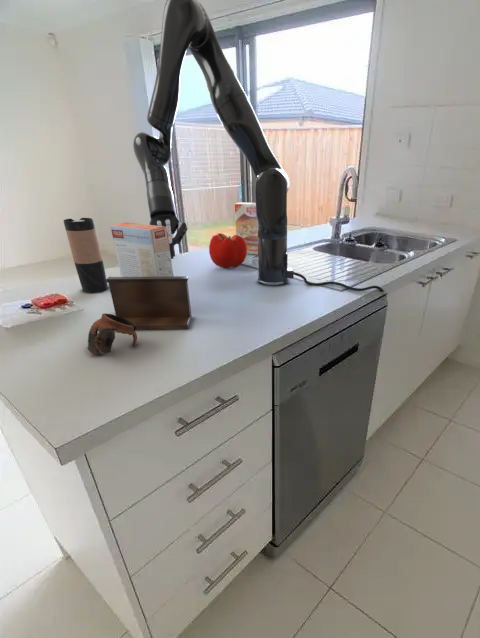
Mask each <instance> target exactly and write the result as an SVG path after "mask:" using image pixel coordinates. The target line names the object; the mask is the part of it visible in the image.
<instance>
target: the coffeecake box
mask: <svg viewBox="0 0 480 638" xmlns="http://www.w3.org/2000/svg"><path fill="white" fill-rule="evenodd" d="M234 218H235V220H234V221H235V235H237V236H241V237H242V238H243V239H244V241H245V243H246V246H247V255H257V256H258V222H257V217H256V202H244V201H243V202H242V201H241V202H240V201H239V202H235V203H234Z"/></svg>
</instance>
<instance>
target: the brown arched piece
mask: <svg viewBox="0 0 480 638" xmlns="http://www.w3.org/2000/svg"><path fill="white" fill-rule="evenodd" d="M136 328H137V326H136V325H135V324H134V323H132V322H130V321H128V320H126V319H124V318H122V317H119V316H116V314H113V313H112V314H111V313H102V314H101V318H99V319H97V320H95V321H94V322H93V323H92V325H91V326H90V328H89V331H88V334H87V335H88V337H87V338H88V339H87V350H88V351H89V353H91V354H92V355H95V356H99V352H101V353H102V354H108V353H111V352H112V347H113V344H114V341H115V339H116V333H119V334H122V335H129V336H132V339H133V341H132V345H133V346H134V347H135V346H137V344H138V343H137V342H138V334H137V332H136V331H137V330H136Z"/></svg>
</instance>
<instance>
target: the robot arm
mask: <svg viewBox="0 0 480 638" xmlns="http://www.w3.org/2000/svg"><path fill="white" fill-rule="evenodd" d="M163 7H164V9H163V13H162V23H161V32H160V33H161V34H160V42H159V43H160V45H159V51H158V60H157V69H156V75H155V80H154V85H153V89H152V94H151V98H150V102H149V107H148V110H147V114H146V115H147V116H146V120H147V123H148V124H149V126H151V128H154V129H155V130H157V132H159V137H157V136H155V135H152V134H149V133H147V132H142V131H141V132H138V133H136V134H135V136H134V138H133V143H132V146H133V147H132V148H133V152H134V155H135V158H136V160H137V163H138V165H139V167H140V169H141V171H142V173H143V176H144V181H145V187H146V199H147V205H148V212H149V218H150V220H149V225H155V226H164V227H167V232H168V240H169V247H170V255H171V260H174V257H176V250H175V246H176V245H180V243H181V241H182V240H183V238H184V236H185V234H186V233H187V231H188V225H187V223H186V222H181V221H180V219H179V218H178V215H177V210H176V202H175V197H174V193H173V190H172V186H171V179H170V174H169V170H168V169H167V167H165V166H166V165H167V164H169V162H170V161H171V157H172V137H173V136H172V135H173V126H174V122H175V119H176V116H177V112H178V108H179V104H180V98H181V97H180V96H181V95H180V94H181V74H182V67H183V63H184V60H185V57H186V53H187V51H188V50H189V51H190V53H191V54H192V55H191V56H192V57H193V59H194V60H195V62H196V63H197V65H198V66H199V69H200V70H201V72H202V75H203V77H204V80H205V83H206V87H207V91H208V94H209V97H210V102H211V104H212V106H213V109H214V111H215V113H216V116H217V117H218V119H219V121H220V122H221V124H222V126H223V128H224V130H225V131H226V133H227V135H228V136H229V137H230V139H231V140H232V141H233V143H234V145H236V147H237V148H238V149H239V151H240V152H241V153H242V155H243V156H244V157H245V159H246V161H247V162H248V165H250V168H251V170H252V173H253V174H254V176H255V185H254V196H255V197H254V198H255V203H256V217H257V222H258V255H257V261H258V263H257V268H258V275H257V276H258V279H257V280H258V281H257V282H258V283H259V284H261V285H264V286H281V285H288V279H294V276H296V277H299V278H302V280H303V281H304V284H306V285H308V286H326V285H336V286H340V287H342V288H345V289H348V290H350V291H354V292H365V291H368V290H369V291H370V290H373V289H376V290H379V291H380V292H384V289H383V288H382V287H380V286H378V285H370V286H365V287H361V288H360V287H353V286H350V285H347V284H345V283H342V282H339V281H331V280H330V281H322V282H316V283H315V282H310V281H308V280H307V278H306V276H304V275H303V274H302V273H298V272H295V271H294V269H293V267H288V259H289V258H288V221H289V220H288V192H289V189H290V180H289V177H288V175H287V173H286V172H285V170H284V169H283V167H282V165H281V164H280V163H279V162H278V160H277V157H275V154H274V153H273V151H272V150H271V148H270V145H269V144H268V141H267V139H266V136H265V134H264V131H263V128H262V125H261V124H260V121H259V119H258V117H257V115H256V112H255V110H254V109H253V108H254V107H253V106H252V104H251V102H250V100H249V98H248V96H247V94H246V92H245V91H244V88H243V87H242V85H241V83H240V81H239V79H238V77H237V75H236V74H235V72H234V70H233V68H232V66H231V64H230V63H229V61H228V59H227V58H226V55H225V53H224V51H223V49H222V47H221V45H220V42H219V40H218V37H217V35H216V32H215V30H214V27H213V25H212V22H211V19H210V17H209V15H208V12H207V11H206V9H205V7H204V6H203V5H202V3H201V2H199V1H198V0H166V1H165V3H164V6H163ZM174 234H175V235H174Z"/></svg>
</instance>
